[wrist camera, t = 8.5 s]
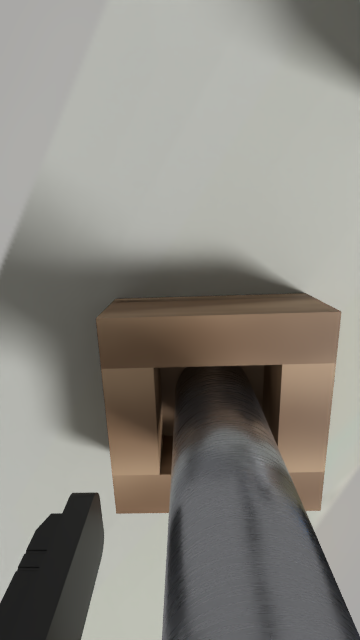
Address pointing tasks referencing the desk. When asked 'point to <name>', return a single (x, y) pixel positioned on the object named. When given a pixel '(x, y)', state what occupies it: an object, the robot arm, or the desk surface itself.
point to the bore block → (215, 350)
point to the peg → (240, 526)
